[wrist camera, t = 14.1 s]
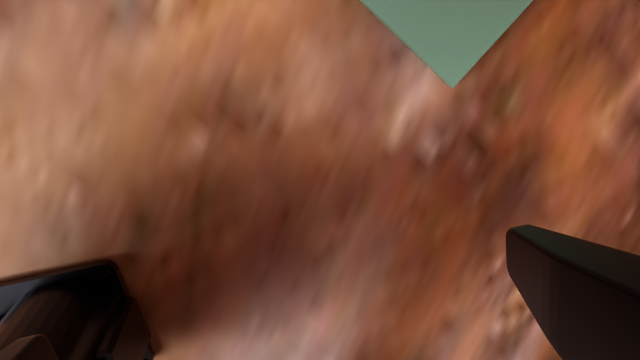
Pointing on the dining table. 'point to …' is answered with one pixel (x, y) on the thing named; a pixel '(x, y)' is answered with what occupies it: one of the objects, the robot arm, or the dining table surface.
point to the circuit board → (448, 29)
